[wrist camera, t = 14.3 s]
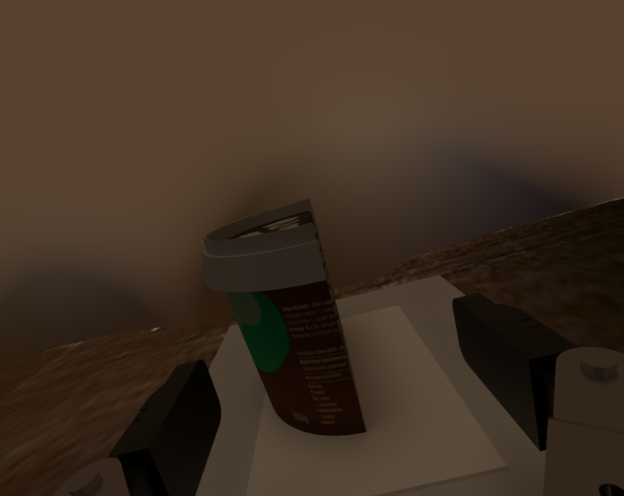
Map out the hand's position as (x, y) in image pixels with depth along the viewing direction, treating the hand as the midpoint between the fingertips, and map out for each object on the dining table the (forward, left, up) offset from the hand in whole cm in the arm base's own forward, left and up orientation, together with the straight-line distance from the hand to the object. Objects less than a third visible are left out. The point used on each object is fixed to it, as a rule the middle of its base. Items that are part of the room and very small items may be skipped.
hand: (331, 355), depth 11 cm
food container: (-3, +8, -6) cm, 11 cm away
